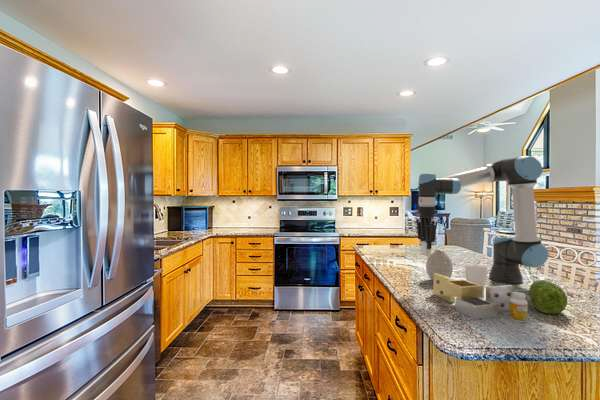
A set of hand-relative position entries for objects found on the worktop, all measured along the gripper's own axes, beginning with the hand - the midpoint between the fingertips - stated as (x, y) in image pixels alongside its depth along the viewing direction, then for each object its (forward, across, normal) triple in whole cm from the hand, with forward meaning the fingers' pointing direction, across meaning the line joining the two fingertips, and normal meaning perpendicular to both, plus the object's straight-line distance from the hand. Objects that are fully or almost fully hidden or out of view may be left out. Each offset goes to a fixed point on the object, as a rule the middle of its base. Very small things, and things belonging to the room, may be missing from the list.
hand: (425, 255), depth 150 cm
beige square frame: (+16, +18, 0) cm, 24 cm away
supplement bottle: (+17, +40, +10) cm, 44 cm away
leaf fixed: (+16, +31, +6) cm, 35 cm away
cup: (+17, +8, +22) cm, 29 cm away
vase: (+17, -10, +16) cm, 25 cm away
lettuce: (+17, +32, +32) cm, 49 cm away
